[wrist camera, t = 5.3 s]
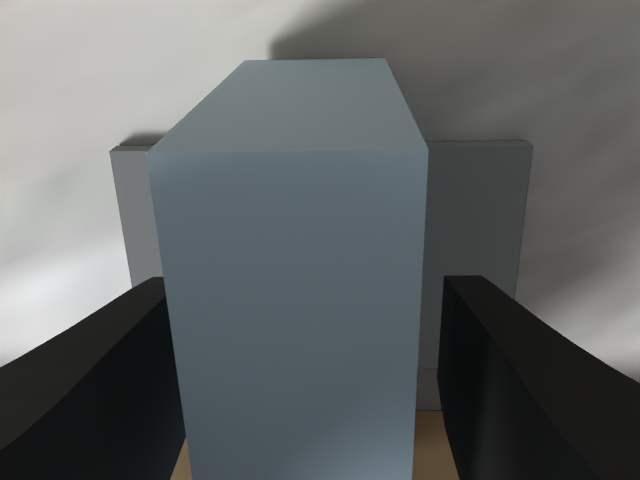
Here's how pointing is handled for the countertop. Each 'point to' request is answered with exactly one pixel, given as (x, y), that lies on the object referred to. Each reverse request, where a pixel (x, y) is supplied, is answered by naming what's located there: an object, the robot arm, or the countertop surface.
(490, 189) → the mat
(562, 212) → the countertop surface
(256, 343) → the pale blue block
